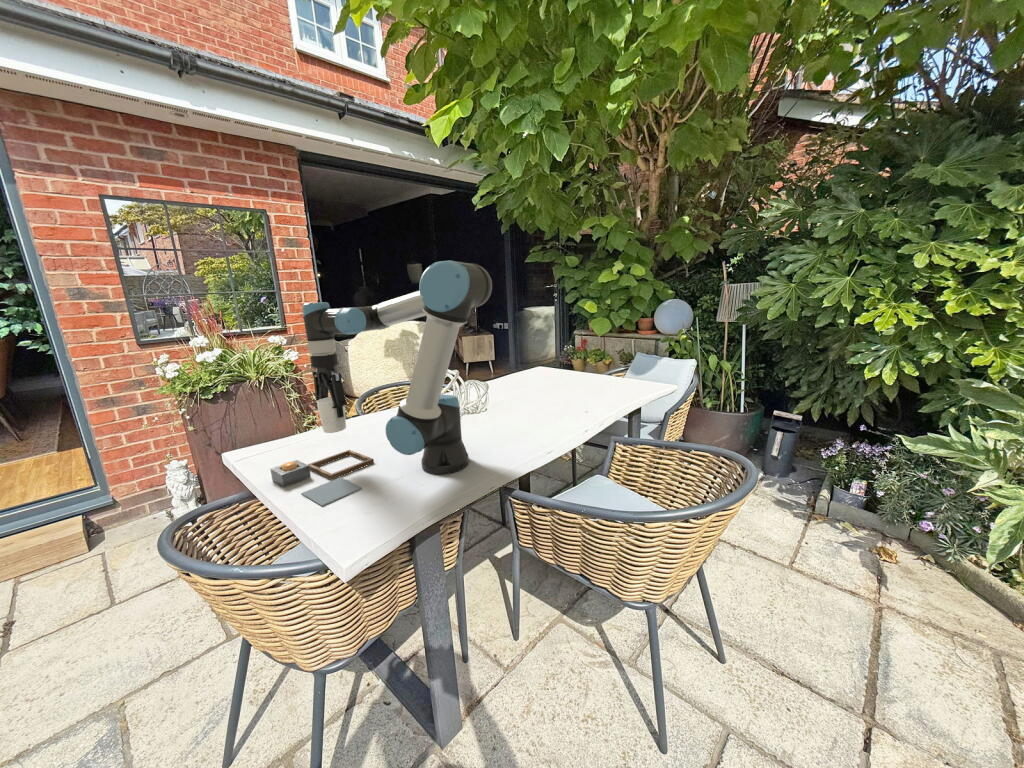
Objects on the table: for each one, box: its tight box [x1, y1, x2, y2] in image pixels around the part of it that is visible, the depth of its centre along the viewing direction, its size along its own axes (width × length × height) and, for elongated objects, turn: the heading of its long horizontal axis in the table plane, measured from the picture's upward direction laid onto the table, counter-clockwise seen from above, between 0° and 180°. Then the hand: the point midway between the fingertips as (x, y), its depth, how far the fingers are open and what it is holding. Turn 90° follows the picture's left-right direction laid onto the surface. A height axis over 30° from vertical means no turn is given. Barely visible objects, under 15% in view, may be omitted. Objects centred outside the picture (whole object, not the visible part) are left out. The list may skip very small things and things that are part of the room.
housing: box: [270, 459, 311, 488], centre depth 123 cm, size 8×8×4 cm
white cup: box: [316, 396, 347, 434], centre depth 126 cm, size 8×8×10 cm
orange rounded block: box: [281, 460, 297, 472], centre depth 123 cm, size 4×4×4 cm
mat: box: [300, 476, 363, 508], centre depth 114 cm, size 12×12×1 cm
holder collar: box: [307, 449, 375, 481], centre depth 131 cm, size 15×15×2 cm
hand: (334, 424), depth 126 cm, fingers closed on white cup, 7 cm apart
